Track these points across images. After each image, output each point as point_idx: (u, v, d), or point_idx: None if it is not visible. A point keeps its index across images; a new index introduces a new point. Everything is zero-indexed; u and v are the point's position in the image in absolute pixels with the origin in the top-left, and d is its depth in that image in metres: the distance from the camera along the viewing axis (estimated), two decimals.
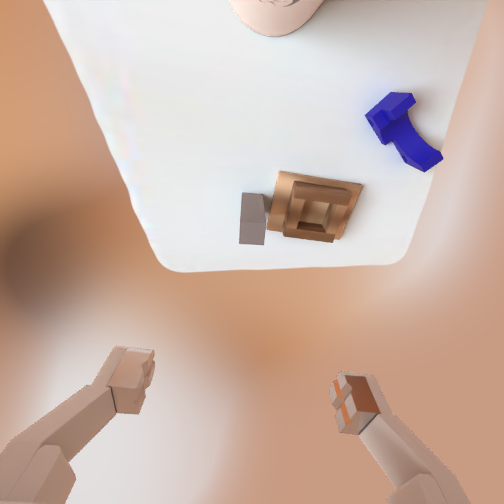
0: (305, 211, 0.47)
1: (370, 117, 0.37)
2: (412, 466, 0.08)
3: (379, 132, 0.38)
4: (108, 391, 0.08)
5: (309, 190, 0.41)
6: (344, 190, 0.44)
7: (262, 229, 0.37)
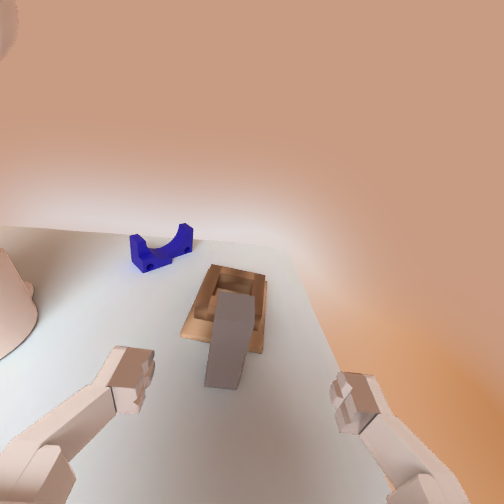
0: None
1: (143, 264, 0.43)
2: (412, 466, 0.08)
3: (158, 259, 0.46)
4: (108, 391, 0.08)
5: (200, 291, 0.37)
6: None
7: (228, 295, 0.26)
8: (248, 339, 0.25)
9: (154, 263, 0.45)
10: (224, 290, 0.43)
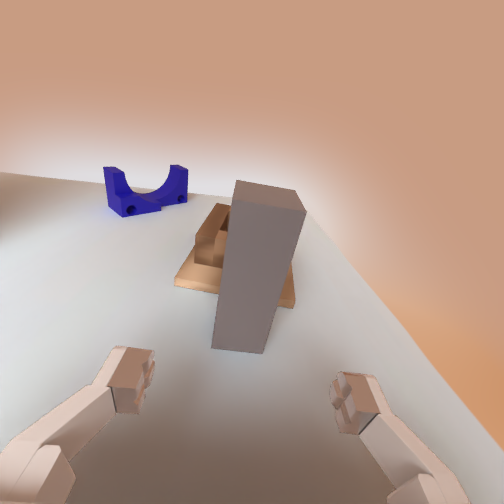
0: None
1: (122, 203, 0.33)
2: (412, 466, 0.08)
3: (142, 200, 0.35)
4: (108, 391, 0.08)
5: (203, 225, 0.26)
6: None
7: (252, 184, 0.15)
8: (291, 250, 0.14)
9: (137, 205, 0.35)
10: None
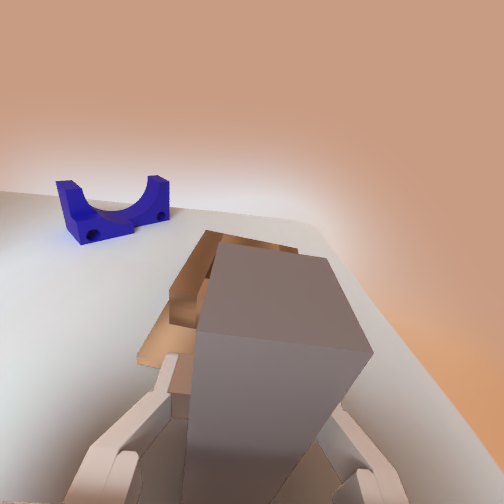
0: None
1: (79, 228, 0.26)
2: (356, 462, 0.08)
3: (108, 222, 0.28)
4: (169, 397, 0.08)
5: (182, 271, 0.19)
6: None
7: (248, 252, 0.08)
8: (329, 407, 0.07)
9: (101, 229, 0.28)
10: None
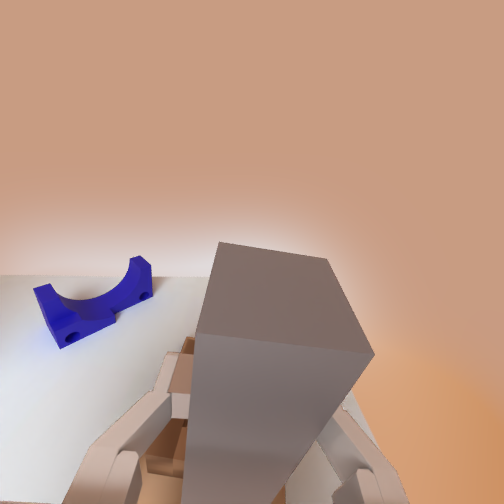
0: None
1: (57, 336, 0.26)
2: (356, 462, 0.08)
3: (88, 322, 0.28)
4: (169, 397, 0.08)
5: None
6: None
7: (248, 253, 0.08)
8: (330, 409, 0.07)
9: (80, 330, 0.28)
10: None
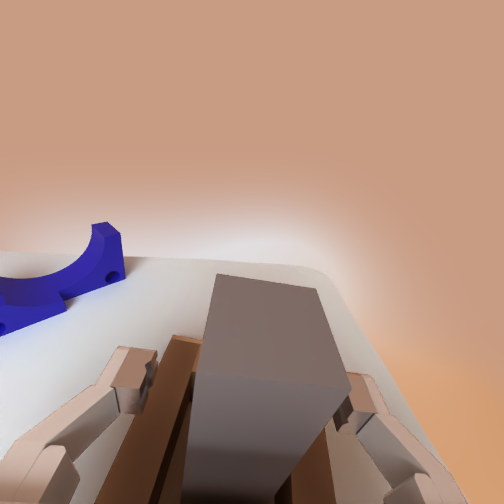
0: None
1: None
2: (408, 466, 0.08)
3: (17, 308, 0.19)
4: (112, 391, 0.08)
5: (103, 496, 0.09)
6: None
7: (243, 285, 0.09)
8: (314, 431, 0.07)
9: (5, 320, 0.18)
10: None
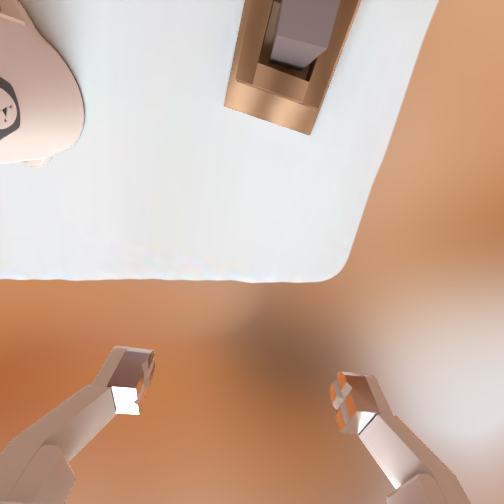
0: None
1: None
2: (412, 466, 0.08)
3: None
4: (108, 391, 0.08)
5: (242, 53, 0.25)
6: None
7: None
8: (317, 54, 0.20)
9: None
10: None
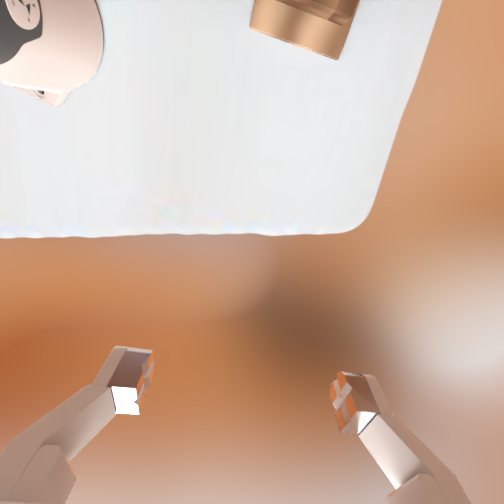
0: None
1: None
2: (412, 466, 0.08)
3: None
4: (108, 391, 0.08)
5: None
6: None
7: None
8: None
9: None
10: None
